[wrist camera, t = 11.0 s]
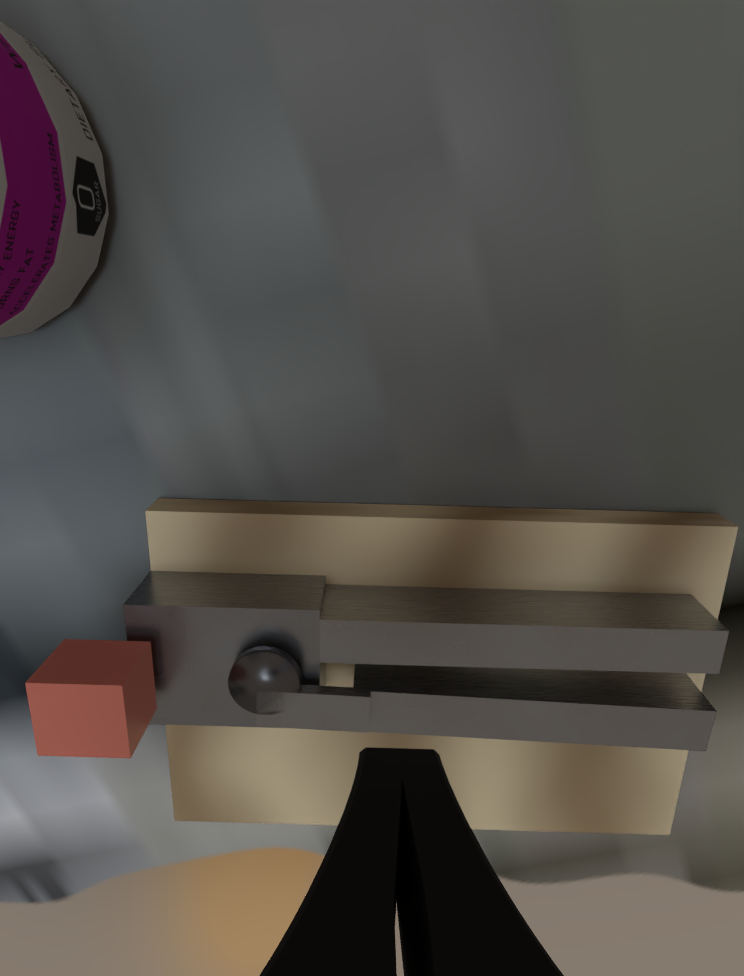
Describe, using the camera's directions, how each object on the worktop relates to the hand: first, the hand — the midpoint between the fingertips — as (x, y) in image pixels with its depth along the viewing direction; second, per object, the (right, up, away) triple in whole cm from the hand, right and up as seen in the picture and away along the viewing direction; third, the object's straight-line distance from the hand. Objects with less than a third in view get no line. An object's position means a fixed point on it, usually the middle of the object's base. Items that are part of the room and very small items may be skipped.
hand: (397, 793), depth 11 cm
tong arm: (+3, 0, +9) cm, 9 cm away
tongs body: (+1, +1, +9) cm, 9 cm away
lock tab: (-8, 0, +6) cm, 10 cm away
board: (+1, -1, +11) cm, 11 cm away
